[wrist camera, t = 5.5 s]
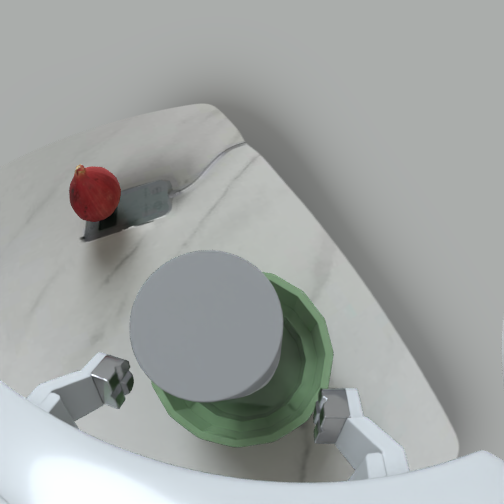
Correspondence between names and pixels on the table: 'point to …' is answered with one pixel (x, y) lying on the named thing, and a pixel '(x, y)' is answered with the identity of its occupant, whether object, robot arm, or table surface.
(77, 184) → the onion
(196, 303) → the container
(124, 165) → the table surface
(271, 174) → the table surface
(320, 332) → the green faceted pot
